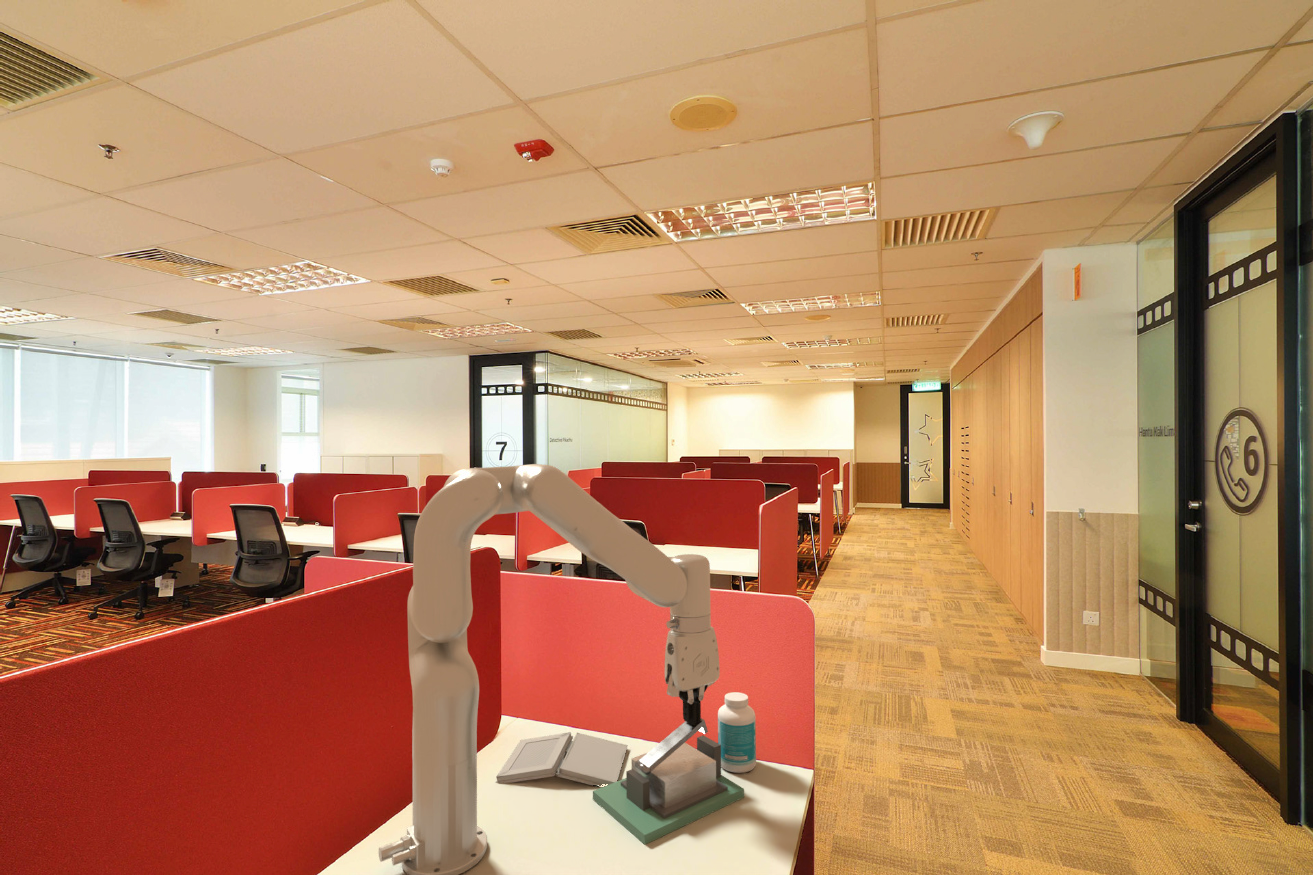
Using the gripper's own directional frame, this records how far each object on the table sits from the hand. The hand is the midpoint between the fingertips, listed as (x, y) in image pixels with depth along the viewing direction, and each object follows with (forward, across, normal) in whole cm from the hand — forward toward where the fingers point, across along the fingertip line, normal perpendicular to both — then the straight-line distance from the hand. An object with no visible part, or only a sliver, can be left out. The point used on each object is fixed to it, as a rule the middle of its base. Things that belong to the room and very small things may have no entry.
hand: (692, 721), depth 115 cm
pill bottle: (+12, +12, +1) cm, 18 cm away
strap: (+5, -4, 0) cm, 6 cm away
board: (+12, -6, 0) cm, 13 cm away
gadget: (+13, -15, +22) cm, 29 cm away
